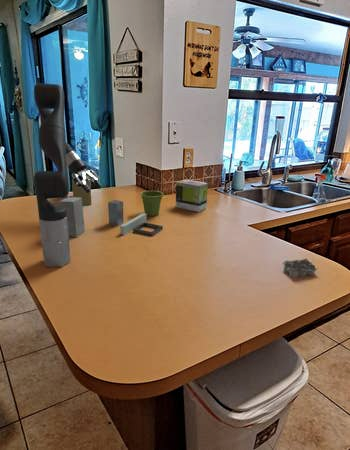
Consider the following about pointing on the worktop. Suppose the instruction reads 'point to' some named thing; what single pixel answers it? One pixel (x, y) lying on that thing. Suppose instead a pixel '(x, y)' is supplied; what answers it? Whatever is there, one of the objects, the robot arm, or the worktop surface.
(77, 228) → the skincare box
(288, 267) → the egg carton
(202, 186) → the tea box
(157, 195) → the plant pot
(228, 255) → the worktop surface
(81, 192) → the cheese
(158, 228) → the frame
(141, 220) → the door edge
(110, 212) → the block
